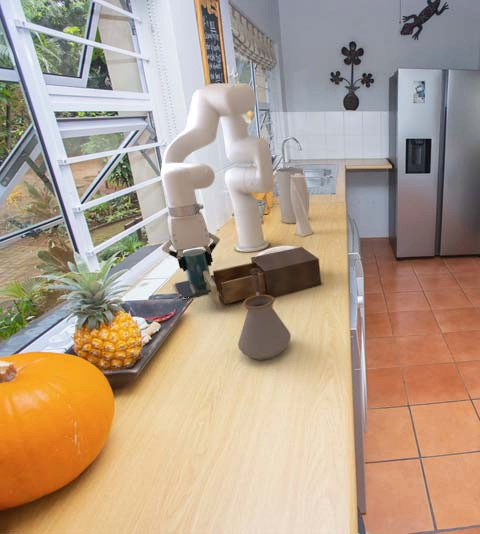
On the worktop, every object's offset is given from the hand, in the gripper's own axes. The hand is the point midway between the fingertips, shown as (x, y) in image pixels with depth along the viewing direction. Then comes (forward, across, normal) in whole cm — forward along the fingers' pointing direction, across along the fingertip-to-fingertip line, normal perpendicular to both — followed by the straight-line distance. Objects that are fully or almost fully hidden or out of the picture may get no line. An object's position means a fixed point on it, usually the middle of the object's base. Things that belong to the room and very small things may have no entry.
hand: (197, 266), depth 119 cm
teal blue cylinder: (+6, 0, 0) cm, 6 cm away
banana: (+7, -28, -5) cm, 29 cm away
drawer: (+6, -6, +14) cm, 16 cm away
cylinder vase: (+7, -53, -57) cm, 78 cm away
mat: (+7, 0, 0) cm, 7 cm away
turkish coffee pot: (+7, -7, +42) cm, 43 cm away
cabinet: (+7, -23, +14) cm, 28 cm away
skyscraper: (+7, -48, -33) cm, 59 cm away
